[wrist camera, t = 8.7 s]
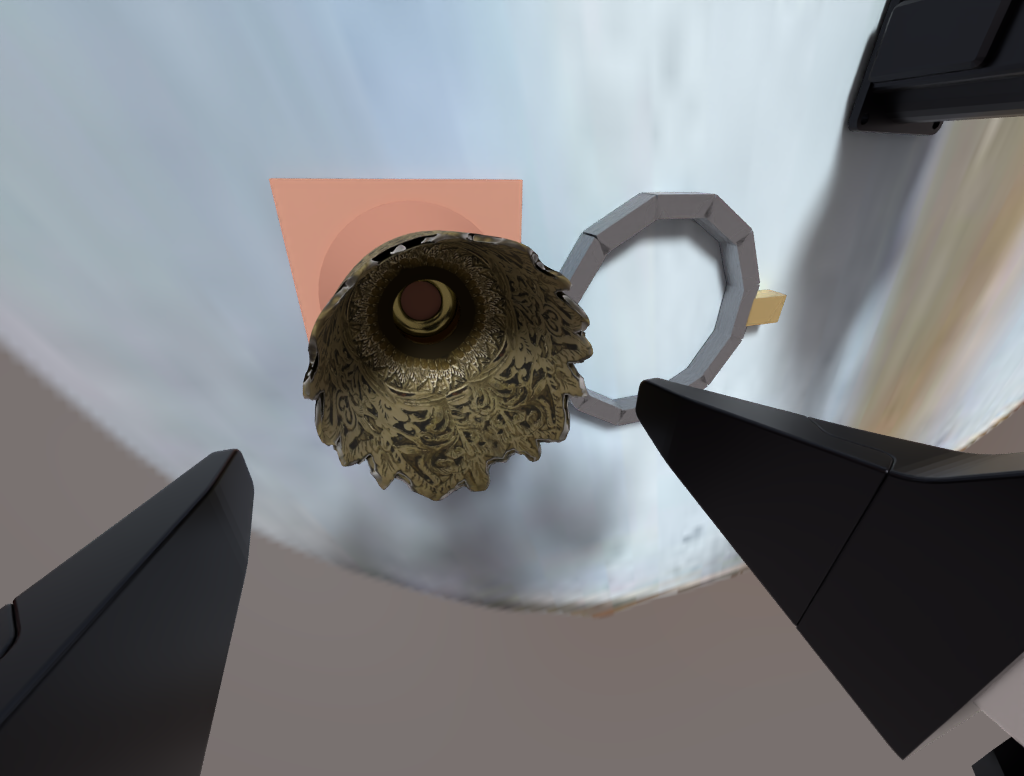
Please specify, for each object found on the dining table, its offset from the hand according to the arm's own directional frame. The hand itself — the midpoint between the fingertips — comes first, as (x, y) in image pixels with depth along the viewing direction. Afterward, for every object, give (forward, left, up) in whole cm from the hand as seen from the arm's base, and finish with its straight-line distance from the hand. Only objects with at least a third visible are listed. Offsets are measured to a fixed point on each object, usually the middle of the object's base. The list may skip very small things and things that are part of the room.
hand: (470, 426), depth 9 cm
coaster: (0, 0, -10) cm, 10 cm away
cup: (0, 0, -10) cm, 10 cm away
